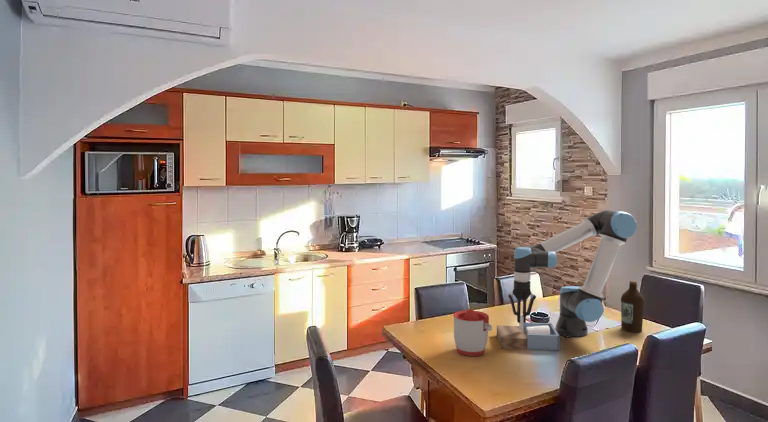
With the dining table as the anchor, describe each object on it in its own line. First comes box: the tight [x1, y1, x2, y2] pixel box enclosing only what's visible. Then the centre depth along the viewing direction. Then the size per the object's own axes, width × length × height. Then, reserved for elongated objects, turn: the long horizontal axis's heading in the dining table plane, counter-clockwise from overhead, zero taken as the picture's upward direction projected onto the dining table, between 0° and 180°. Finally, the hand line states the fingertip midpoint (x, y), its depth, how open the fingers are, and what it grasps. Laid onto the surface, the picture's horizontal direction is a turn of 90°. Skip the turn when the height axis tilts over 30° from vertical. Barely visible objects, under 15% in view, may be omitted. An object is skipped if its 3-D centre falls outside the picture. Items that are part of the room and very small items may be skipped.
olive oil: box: [620, 280, 645, 333], centre depth 241 cm, size 11×11×25 cm
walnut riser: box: [496, 324, 528, 351], centre depth 225 cm, size 12×18×5 cm, turn 172°
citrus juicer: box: [453, 308, 493, 357], centre depth 212 cm, size 16×17×20 cm
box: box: [523, 321, 561, 352], centre depth 223 cm, size 14×18×7 cm
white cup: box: [526, 325, 550, 337], centre depth 223 cm, size 8×8×10 cm
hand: (521, 329), depth 224 cm, fingers closed
